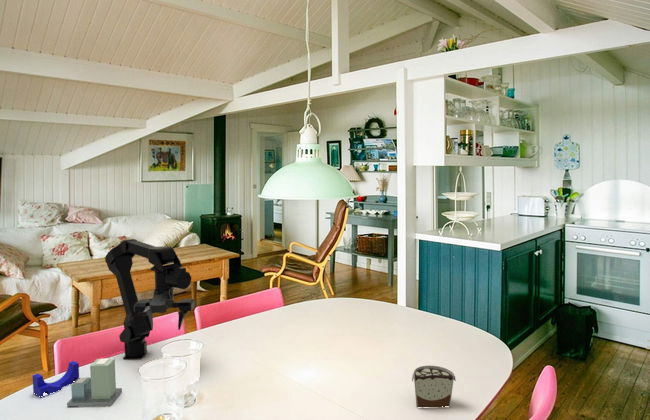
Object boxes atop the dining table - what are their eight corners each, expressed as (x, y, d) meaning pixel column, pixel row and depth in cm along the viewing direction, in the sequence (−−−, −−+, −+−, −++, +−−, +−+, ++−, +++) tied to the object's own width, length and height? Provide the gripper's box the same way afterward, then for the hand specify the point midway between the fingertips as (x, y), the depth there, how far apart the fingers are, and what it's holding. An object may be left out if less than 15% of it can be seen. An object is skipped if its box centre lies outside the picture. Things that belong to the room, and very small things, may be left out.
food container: (448, 396, 131) (449, 364, 130) (455, 407, 125) (456, 373, 124) (407, 397, 130) (407, 364, 130) (411, 408, 124) (412, 374, 123)
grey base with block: (67, 407, 125) (66, 387, 124) (81, 393, 132) (80, 374, 132) (110, 405, 125) (109, 386, 125) (121, 391, 133) (121, 373, 133)
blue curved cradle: (40, 398, 129) (39, 379, 129) (33, 394, 132) (32, 375, 131) (81, 382, 139) (81, 364, 139) (74, 378, 142) (73, 360, 141)
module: (91, 399, 127) (90, 364, 126) (98, 391, 131) (97, 358, 130) (109, 398, 127) (107, 364, 126) (116, 391, 131) (114, 357, 130)
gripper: (126, 291, 139) (128, 339, 140) (186, 290, 140) (187, 338, 142) (138, 282, 150) (140, 327, 151) (194, 282, 151) (195, 326, 153)
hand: (165, 330), depth 149 cm, fingers open, 9 cm apart
